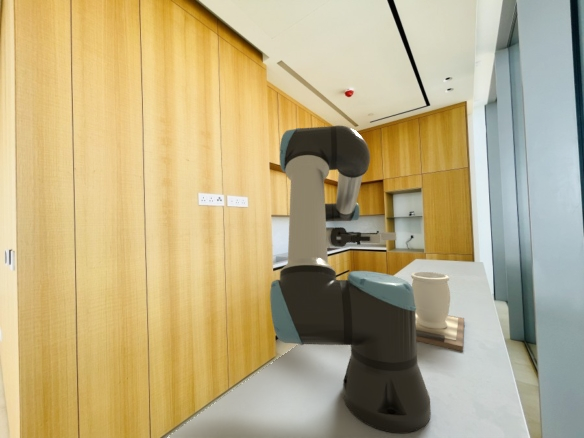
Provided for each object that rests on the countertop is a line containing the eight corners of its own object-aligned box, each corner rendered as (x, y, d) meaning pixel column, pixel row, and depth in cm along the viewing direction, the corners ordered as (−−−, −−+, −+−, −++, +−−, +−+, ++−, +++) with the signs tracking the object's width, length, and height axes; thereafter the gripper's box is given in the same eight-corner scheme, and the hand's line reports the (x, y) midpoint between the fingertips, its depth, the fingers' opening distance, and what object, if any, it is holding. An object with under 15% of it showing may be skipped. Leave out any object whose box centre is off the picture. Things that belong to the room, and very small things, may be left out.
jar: (449, 334, 68) (447, 280, 69) (409, 326, 75) (407, 276, 75) (452, 321, 77) (450, 273, 77) (416, 315, 83) (414, 270, 83)
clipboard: (462, 351, 62) (462, 342, 62) (395, 336, 71) (395, 328, 72) (464, 321, 80) (463, 314, 80) (410, 312, 89) (410, 306, 89)
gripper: (350, 244, 106) (401, 245, 92) (316, 249, 88) (373, 252, 74) (349, 226, 106) (400, 225, 92) (315, 228, 88) (372, 227, 74)
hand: (388, 237), depth 83 cm, fingers open, 13 cm apart
